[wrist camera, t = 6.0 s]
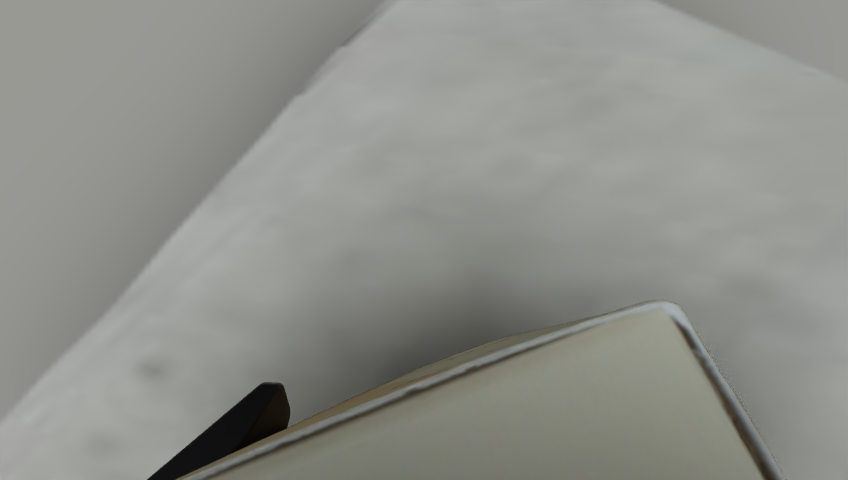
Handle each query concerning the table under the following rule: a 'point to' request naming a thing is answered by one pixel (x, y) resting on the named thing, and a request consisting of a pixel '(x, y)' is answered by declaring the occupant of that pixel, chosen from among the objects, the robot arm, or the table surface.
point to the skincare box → (534, 414)
